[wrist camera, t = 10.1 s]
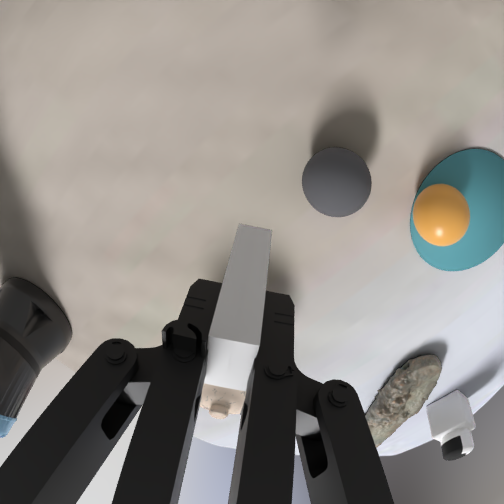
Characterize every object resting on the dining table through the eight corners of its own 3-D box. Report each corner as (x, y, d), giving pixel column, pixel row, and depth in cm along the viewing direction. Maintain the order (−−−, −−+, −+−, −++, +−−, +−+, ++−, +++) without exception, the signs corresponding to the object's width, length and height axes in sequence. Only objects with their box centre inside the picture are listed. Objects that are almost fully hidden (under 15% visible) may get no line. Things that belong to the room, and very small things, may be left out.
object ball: (421, 255, 23) (464, 261, 24) (448, 196, 20) (490, 208, 21) (394, 221, 28) (436, 228, 28) (414, 167, 24) (456, 180, 25)
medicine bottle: (438, 414, 49) (448, 465, 39) (425, 406, 47) (435, 462, 37) (468, 398, 46) (481, 449, 36) (457, 388, 44) (472, 445, 34)
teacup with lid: (261, 361, 42) (252, 438, 32) (195, 347, 42) (174, 421, 32) (284, 300, 35) (280, 390, 25) (204, 282, 35) (175, 368, 25)
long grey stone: (335, 439, 59) (376, 435, 59) (336, 460, 55) (378, 455, 55) (394, 351, 38) (452, 347, 38) (403, 384, 34) (462, 376, 34)
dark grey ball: (360, 237, 23) (362, 209, 27) (380, 167, 20) (377, 151, 24) (290, 217, 24) (303, 193, 28) (302, 147, 21) (314, 135, 25)
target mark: (389, 257, 30) (390, 258, 30) (439, 127, 22) (440, 128, 22) (483, 278, 31) (484, 279, 30) (534, 175, 23) (535, 176, 22)
